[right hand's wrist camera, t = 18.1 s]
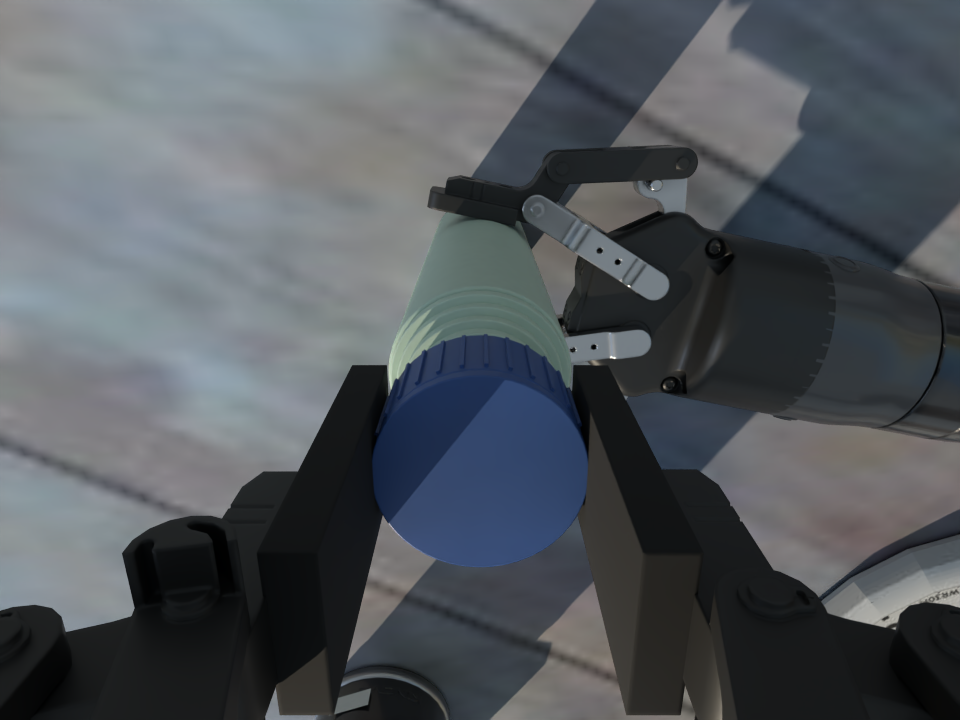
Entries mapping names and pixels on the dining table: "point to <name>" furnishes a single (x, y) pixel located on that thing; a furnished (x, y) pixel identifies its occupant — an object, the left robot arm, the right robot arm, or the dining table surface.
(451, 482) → the cap
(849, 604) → the wall clock
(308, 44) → the dining table surface
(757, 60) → the dining table surface
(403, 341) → the bottle
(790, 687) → the right robot arm
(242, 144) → the dining table surface
